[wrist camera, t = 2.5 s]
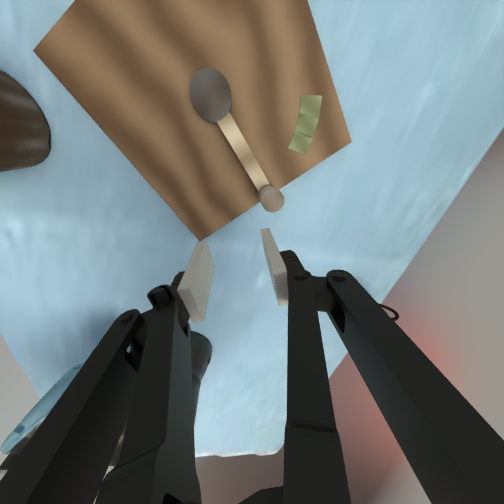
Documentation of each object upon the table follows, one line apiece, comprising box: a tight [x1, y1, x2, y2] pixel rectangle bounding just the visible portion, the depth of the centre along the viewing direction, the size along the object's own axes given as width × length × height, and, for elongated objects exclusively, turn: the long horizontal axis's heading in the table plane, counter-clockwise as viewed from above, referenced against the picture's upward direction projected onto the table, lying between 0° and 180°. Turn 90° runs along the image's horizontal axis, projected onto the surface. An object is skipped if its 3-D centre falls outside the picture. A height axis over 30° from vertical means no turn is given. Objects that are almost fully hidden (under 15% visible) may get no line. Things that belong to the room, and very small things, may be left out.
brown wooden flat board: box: [33, 0, 351, 241], centre depth 26 cm, size 30×30×2 cm
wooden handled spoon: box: [189, 68, 284, 212], centre depth 25 cm, size 18×5×7 cm, turn 33°
